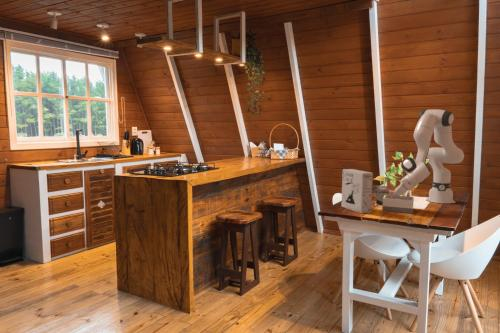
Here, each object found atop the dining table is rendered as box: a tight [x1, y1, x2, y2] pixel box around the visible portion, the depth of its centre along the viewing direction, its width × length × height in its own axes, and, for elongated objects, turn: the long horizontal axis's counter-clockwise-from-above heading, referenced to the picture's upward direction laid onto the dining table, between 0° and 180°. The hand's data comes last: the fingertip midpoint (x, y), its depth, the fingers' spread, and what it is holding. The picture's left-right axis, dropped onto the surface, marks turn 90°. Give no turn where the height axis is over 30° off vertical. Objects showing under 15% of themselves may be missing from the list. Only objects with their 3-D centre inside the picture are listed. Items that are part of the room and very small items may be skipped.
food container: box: [374, 188, 393, 206], centre depth 271 cm, size 12×6×10 cm, turn 74°
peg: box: [388, 189, 395, 199], centre depth 255 cm, size 4×4×10 cm
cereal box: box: [341, 168, 374, 214], centre depth 252 cm, size 22×8×25 cm, turn 21°
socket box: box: [381, 195, 414, 214], centre depth 254 cm, size 14×18×8 cm
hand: (390, 197), depth 255 cm, fingers closed on peg, 4 cm apart
